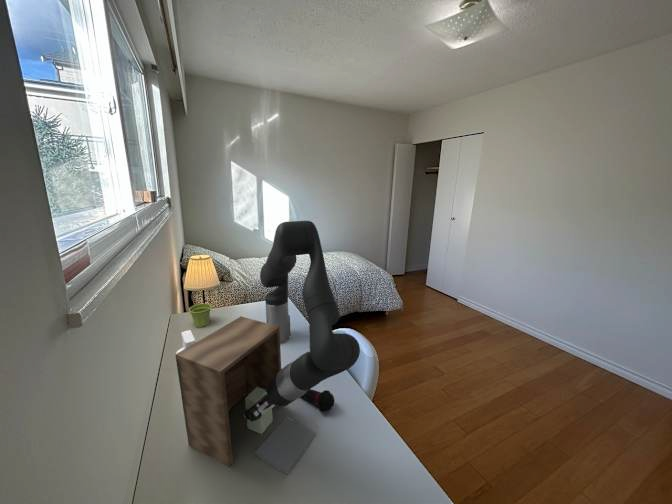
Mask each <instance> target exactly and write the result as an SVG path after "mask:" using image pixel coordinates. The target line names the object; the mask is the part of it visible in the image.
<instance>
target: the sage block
mask: <svg viewBox="0 0 672 504" xmlns="http://www.w3.org/2000/svg"><path fill="white" fill-rule="evenodd" d="M265 391H266V390H264V389H262V388H259V387H256V388H255V389H254V390H253V391H252V392H251V393H250V394H248V395H247V396H246V397H245V398H244V401H245V411H246V410H248V409H249V408H250V407H251V406H253V405H254V404H255V401H256V400H257V399H258V398H259V397H261V396H262V394H263V393H264V392H265ZM260 401H261V400H260ZM272 422H273V408H270V409H268V410H267V411H266V412H265V413H263V414H262V416H261V418H260V419H258V420H255V421H253V422H251V421H250V420H247V419H246V424H247V429H249V430H252V431H254V432H256V433H258V434H260V435H262V434H263V433H264V432H265V430H266V429H268V427H269V426H270V425H271V424H272Z"/></svg>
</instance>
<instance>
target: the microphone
mask: <svg viewBox="0 0 672 504" xmlns="http://www.w3.org/2000/svg"><path fill="white" fill-rule="evenodd" d="M300 398H303V399H304V400H306V401H308V402H310V403H312V404H315V405H317V408H318V409H319V411H320V412H327V411H330V410H331V409H332V408H333V407H334V406H335V397H334V395H333V394H332V393H331V392H330V390H325V389H324V390H323V391H318V390H316V389H312V388H311V389H310V390H308V391H307V392H306V393H305V394H304V395H302V396H301V397H300Z"/></svg>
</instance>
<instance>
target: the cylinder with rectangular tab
mask: <svg viewBox="0 0 672 504" xmlns="http://www.w3.org/2000/svg"><path fill="white" fill-rule="evenodd" d="M181 341H182V347H181V348H180V349H178V350H177V351H176V353H175V354H177V353H179V352H181V351H182V350H184V349H186V348H187V347H189V346H191V345H193V344H194V343H196V339H195V336H194V335H193V333H192V331H191V329H187V330H185V331H182V332H181Z"/></svg>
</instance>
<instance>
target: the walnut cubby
mask: <svg viewBox="0 0 672 504" xmlns="http://www.w3.org/2000/svg"><path fill="white" fill-rule="evenodd" d="M281 354H282V353H281V344H280V327H279V326H276V325H272V324H268V323H267V322H265V321H259V320H257V319H252V318H248V317H245V316H239V317H238V318H235V319H234V320H233V321H231V322H229V323H227V324H226V325H224V326H222V327H220V328H218V329H217V330H215V331H214V332H212V333H209V334H208V335H207V336H205V337H203V338H202V339H200V340H198V341H195V343H194V344H193V345H191V346H189V347H187V348H186V349H184V350H182V351H181V352H179V353H177V354H176V353H175V362H176V367H177V375H178V382H179V389H180V396H181V402H182V410H183V416H184V423H185V430H186V435H187V437H186V438H187V443H188V446H190V447H192V448H193V449H195V450H197V451H199V452H201V453H203V454H204V455H206V456H208V457H210V458H211V459H214V460H215V461H217V462H219V463H221V464H223V465H224V466H226V467H227V468H232V467H233V466H234V458H233V449H232V448H233V447H232V440H231V439H232V437H231V429H230V427H231V426H230V419H229V411H230V410H231V409H232V408H233V407H234V406H235V405H236V404H237V403H238V402H240V400H241V399H242V398H244V397H245V395H247V394H248V395H249V394H250V393H251V392H252V391H253V390H254V389H255V388H256V387H259V388H262V389H264V390H267V384H268V381H269V379H270V378H271V377H272V376H273V375H274V374H276V373H277V372H278V371H280V370H281V369H282V355H281Z"/></svg>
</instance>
